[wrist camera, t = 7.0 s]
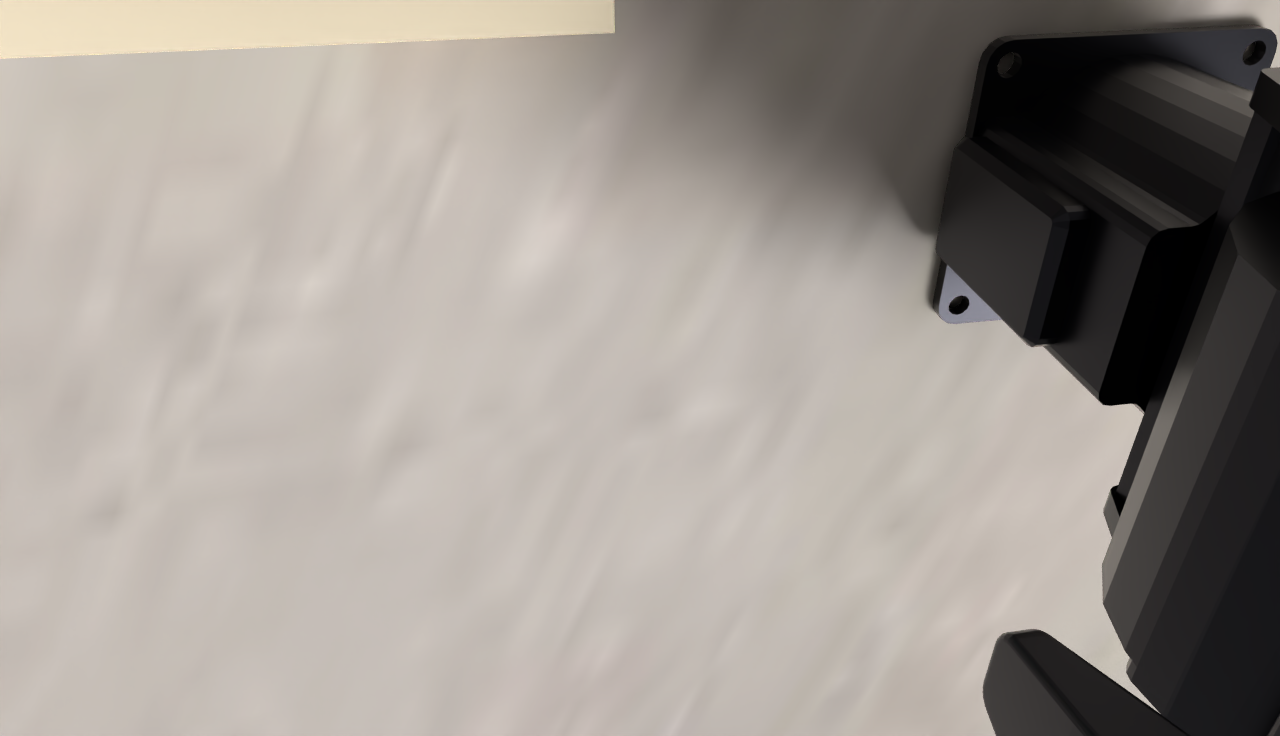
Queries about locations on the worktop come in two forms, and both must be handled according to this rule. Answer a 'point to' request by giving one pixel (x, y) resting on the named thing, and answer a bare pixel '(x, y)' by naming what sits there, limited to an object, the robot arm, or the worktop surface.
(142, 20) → the lane
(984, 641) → the worktop surface
